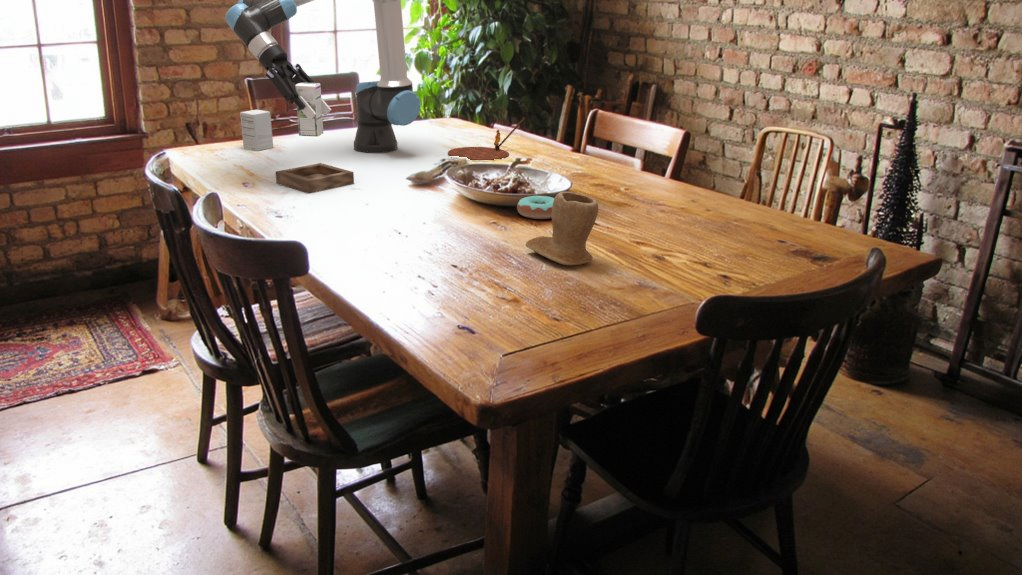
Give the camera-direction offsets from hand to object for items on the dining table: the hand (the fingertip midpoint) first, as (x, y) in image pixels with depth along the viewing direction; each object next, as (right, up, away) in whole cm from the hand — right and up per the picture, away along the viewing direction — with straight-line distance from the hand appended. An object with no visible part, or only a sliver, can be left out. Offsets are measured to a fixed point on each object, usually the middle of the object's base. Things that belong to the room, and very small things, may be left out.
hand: (320, 114), depth 240 cm
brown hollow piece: (+66, -43, -50) cm, 93 cm away
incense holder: (+47, -3, +52) cm, 70 cm away
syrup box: (-3, -5, +4) cm, 7 cm away
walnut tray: (-3, -18, +9) cm, 21 cm away
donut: (+62, -30, -17) cm, 71 cm away
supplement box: (-33, -1, +53) cm, 62 cm away
